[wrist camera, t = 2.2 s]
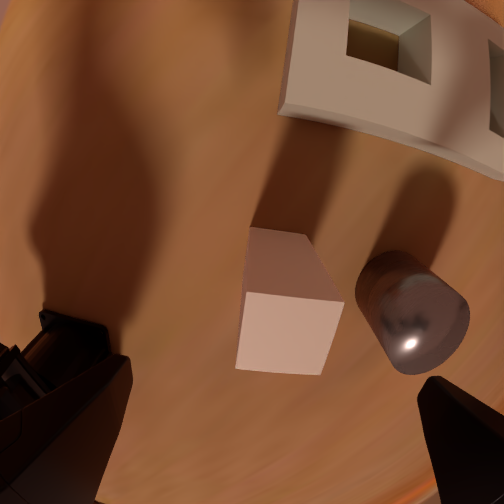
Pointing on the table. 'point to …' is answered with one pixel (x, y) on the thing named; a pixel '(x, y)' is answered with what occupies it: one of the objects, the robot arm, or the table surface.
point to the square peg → (285, 305)
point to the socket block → (403, 77)
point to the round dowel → (411, 311)
